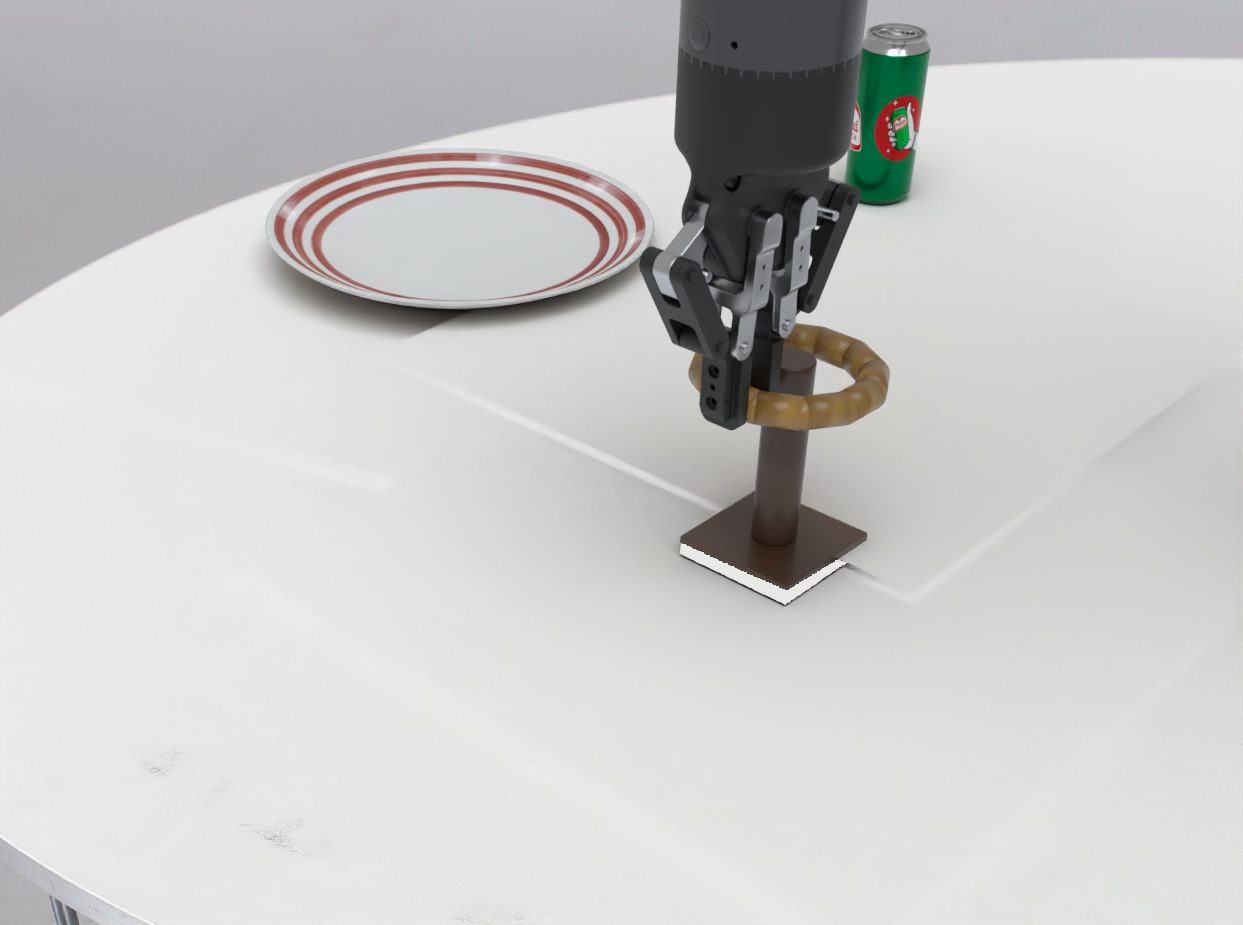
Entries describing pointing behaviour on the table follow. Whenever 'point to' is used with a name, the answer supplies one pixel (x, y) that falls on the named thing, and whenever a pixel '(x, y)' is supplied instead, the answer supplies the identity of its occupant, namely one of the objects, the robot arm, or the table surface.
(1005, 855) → the table surface
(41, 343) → the table surface
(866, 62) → the soda can
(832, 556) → the stand
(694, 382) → the ring
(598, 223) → the dinner plate
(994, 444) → the table surface
